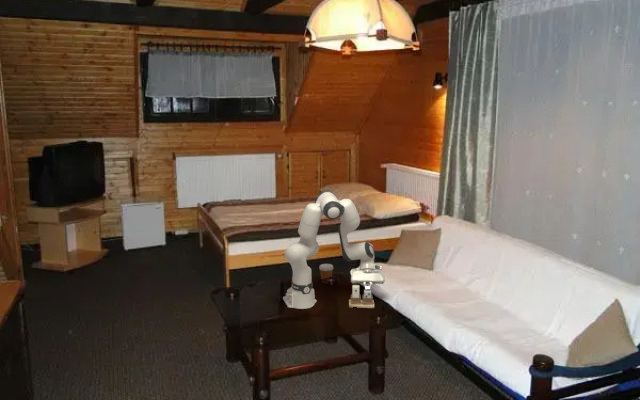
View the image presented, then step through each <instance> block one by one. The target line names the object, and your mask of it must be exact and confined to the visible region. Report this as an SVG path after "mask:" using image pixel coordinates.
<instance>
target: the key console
mask: <svg viewBox="0 0 640 400" xmlns="http://www.w3.org/2000/svg"><path fill="white" fill-rule="evenodd" d="M361 296H362V297H361ZM353 307H357V308H358V309H359V308H363V309H364V308H365V309H366V308H367V309H374V308H375V302H374V297H373V294H371V298H364V294H362V295H361V294H359V298H352V293H351V294H350V299H348V308H353Z"/></svg>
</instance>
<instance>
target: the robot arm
mask: <svg viewBox="0 0 640 400" xmlns="http://www.w3.org/2000/svg"><path fill="white" fill-rule="evenodd" d="M324 216H325V218H327V219H329V220H336V219H338V218H339V219H340V224H339V225H338V236H339V241H340V247H341V255H342V258H343V260H345V261H346V262H348V263H349V262H352V261H357V260H360V263H359V266H360V267H359V268H355V267H354V268H352V269H351V270H350V271H349V274H350V275H351V276H350V283H352V284H362V285H363V287H364V290H371V287H372V285H373V284H376V285H377V284H379V285H384V283H385V282H386V281H385V273H384V271H383V268H382V266H381V265H378V264H376V263H375V250H374V245H373V244H372V243H370V242H367V241H364V242H358V243H349V242H348V234H351V233H352V232H354V231H355V230H357V228H358V227H359V226H360V223H361V217H360V214H359V211H358V209H357V208H356V205H355V204H354V202H353V201H352V200H351V199H349V198H343V199H340V200H339V199H338V198H337V197H336V195H335V194H334V192H332V191H331V190H328V189H326V190H323V191H321V192H320V193H318V195H317V197H316V198H315V199H314V203H312V202H311V203H308V204H307V205H306V207H305V208H304V210H303V212H302V216H301V217H300V218H301V219H300V221H299V224H298V225H299V226H298V228H297V229H298V230H297V233H298V234H299V237H300V238H299V241H297V242H295V243H293V244H290V245H289V246H287V248H286V249H285V250H284V253H283V254H284V258H285V260H286V261H287V262H288V263H289V264H290V266H291V269H292V277H293V282H292V281H291V287H289V288H288V289H287V290H286V293H285V296H283V297H282V300H283V301H284V303H285V305H286V306H287V308H292V309H297V310H298V309H299V310H300V309H301V310H304V309H311V308H312V307H313V306H315V304H316V303H317V302H318V301H317V299H316V298H315V297H316V295H315V289H314V288H313V281H312V280H313V279H312V275H313V274H312V273H313V271H312V268H311V267H310V266H308V264H307V259H309V258H313V257H314V256H315V255H316V254H317V253H318V252H319V249H320V246H319V245H320V244H319V243H318V241H317V234H318V230H319V227H320V224H321V220H322V218H323V217H324ZM366 284H368V286H367V285H366Z"/></svg>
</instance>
